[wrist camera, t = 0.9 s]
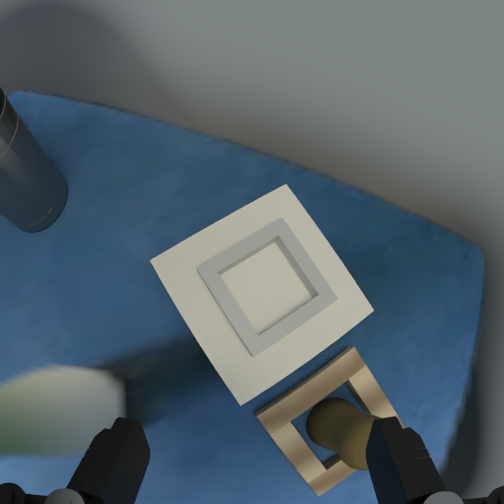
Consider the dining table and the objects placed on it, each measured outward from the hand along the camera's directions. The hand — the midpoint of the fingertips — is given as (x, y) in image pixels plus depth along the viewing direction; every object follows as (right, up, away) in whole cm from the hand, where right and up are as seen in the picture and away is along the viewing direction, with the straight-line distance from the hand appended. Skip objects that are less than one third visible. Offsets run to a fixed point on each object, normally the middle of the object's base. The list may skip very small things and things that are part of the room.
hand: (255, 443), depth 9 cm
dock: (+1, +2, +26) cm, 26 cm away
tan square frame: (+9, -13, +22) cm, 27 cm away
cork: (+9, -13, +22) cm, 27 cm away
